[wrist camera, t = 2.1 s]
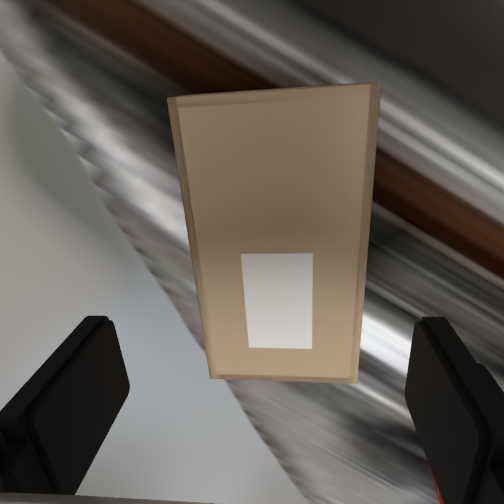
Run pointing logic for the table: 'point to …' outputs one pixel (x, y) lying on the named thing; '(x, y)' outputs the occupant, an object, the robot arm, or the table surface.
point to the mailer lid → (279, 225)
